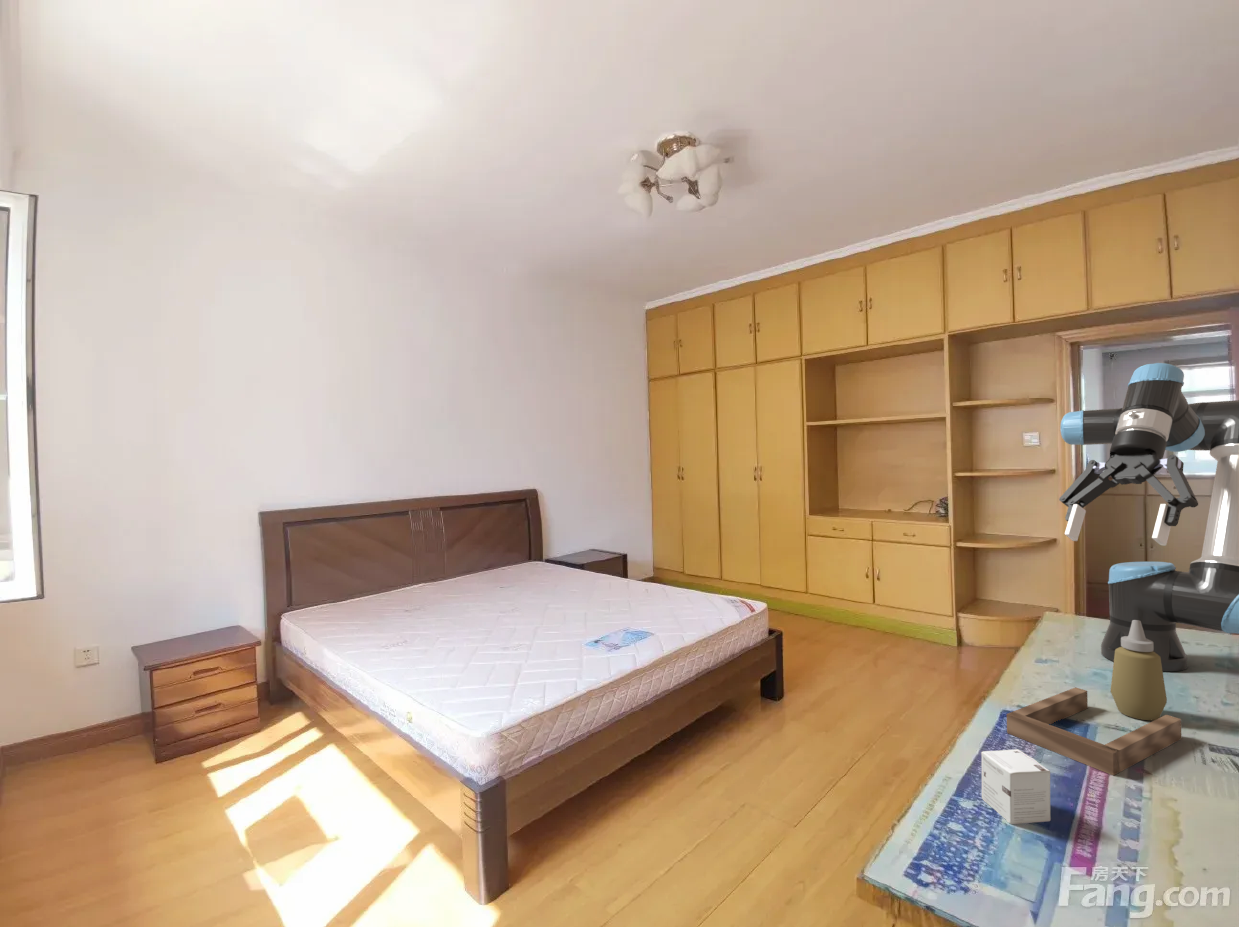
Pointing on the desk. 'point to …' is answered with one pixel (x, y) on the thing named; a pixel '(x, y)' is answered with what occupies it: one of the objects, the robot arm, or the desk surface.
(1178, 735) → the bottle rest
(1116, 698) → the squeeze bottle
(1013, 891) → the desk surface
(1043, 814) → the skincare box
